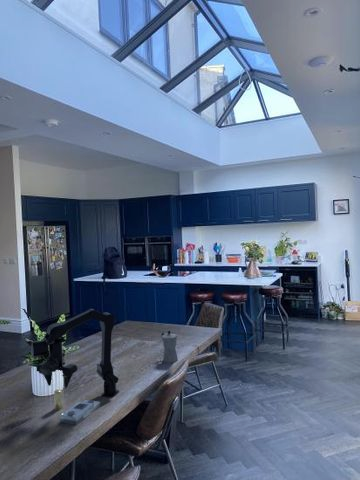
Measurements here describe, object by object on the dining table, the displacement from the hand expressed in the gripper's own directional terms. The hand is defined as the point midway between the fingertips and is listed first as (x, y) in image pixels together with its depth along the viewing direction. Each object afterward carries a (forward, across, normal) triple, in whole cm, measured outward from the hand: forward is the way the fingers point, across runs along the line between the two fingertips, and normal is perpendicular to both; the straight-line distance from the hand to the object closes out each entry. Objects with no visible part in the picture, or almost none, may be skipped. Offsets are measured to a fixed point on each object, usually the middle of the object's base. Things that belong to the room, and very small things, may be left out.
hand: (57, 386), depth 171 cm
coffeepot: (+10, +25, +72) cm, 77 cm away
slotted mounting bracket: (+10, +13, -1) cm, 16 cm away
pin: (+10, 0, 0) cm, 10 cm away
